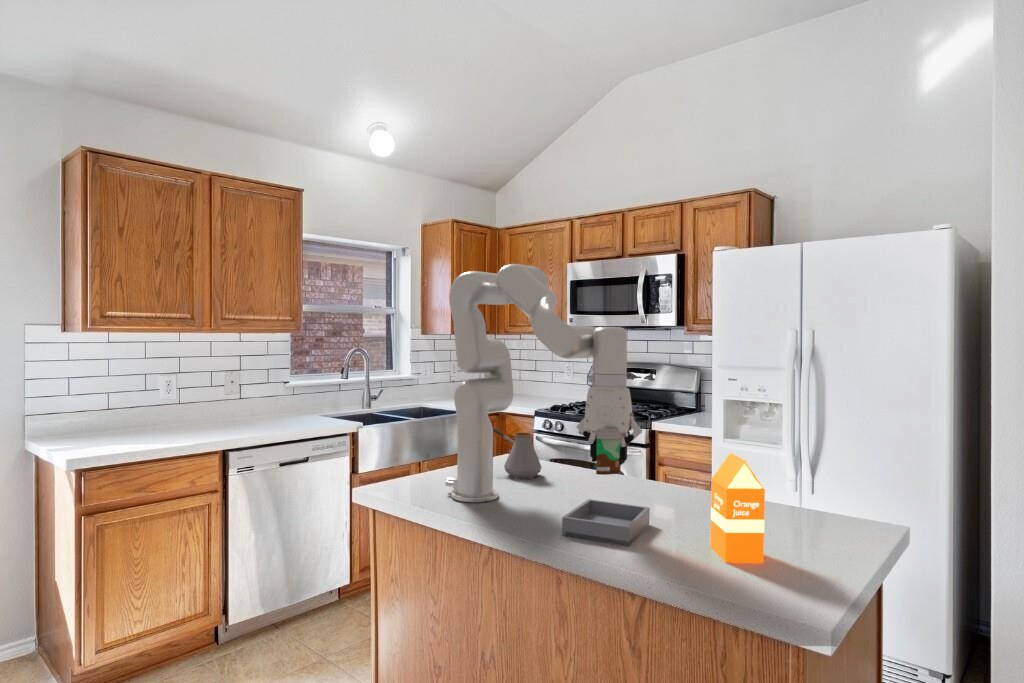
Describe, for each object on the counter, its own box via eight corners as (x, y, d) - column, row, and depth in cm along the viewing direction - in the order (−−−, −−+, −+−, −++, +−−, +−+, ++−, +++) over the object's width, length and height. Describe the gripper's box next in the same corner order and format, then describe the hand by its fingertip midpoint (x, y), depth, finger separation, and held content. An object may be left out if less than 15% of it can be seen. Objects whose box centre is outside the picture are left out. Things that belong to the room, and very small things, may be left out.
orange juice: (746, 547, 133) (748, 452, 132) (764, 563, 124) (766, 461, 124) (709, 547, 133) (711, 452, 132) (724, 563, 124) (726, 461, 124)
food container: (624, 477, 136) (625, 430, 136) (595, 475, 137) (596, 429, 137) (626, 467, 148) (627, 424, 148) (600, 465, 149) (600, 422, 149)
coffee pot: (548, 475, 196) (549, 427, 196) (527, 482, 187) (528, 431, 187) (493, 466, 209) (493, 420, 208) (471, 472, 199) (471, 424, 199)
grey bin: (562, 535, 139) (562, 517, 139) (588, 515, 154) (588, 499, 154) (629, 546, 133) (629, 527, 132) (649, 524, 148) (649, 507, 148)
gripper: (567, 381, 143) (566, 461, 144) (642, 384, 136) (641, 469, 136) (579, 379, 150) (578, 455, 150) (651, 382, 142) (650, 463, 143)
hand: (608, 461), depth 143 cm, fingers closed on food container, 5 cm apart
